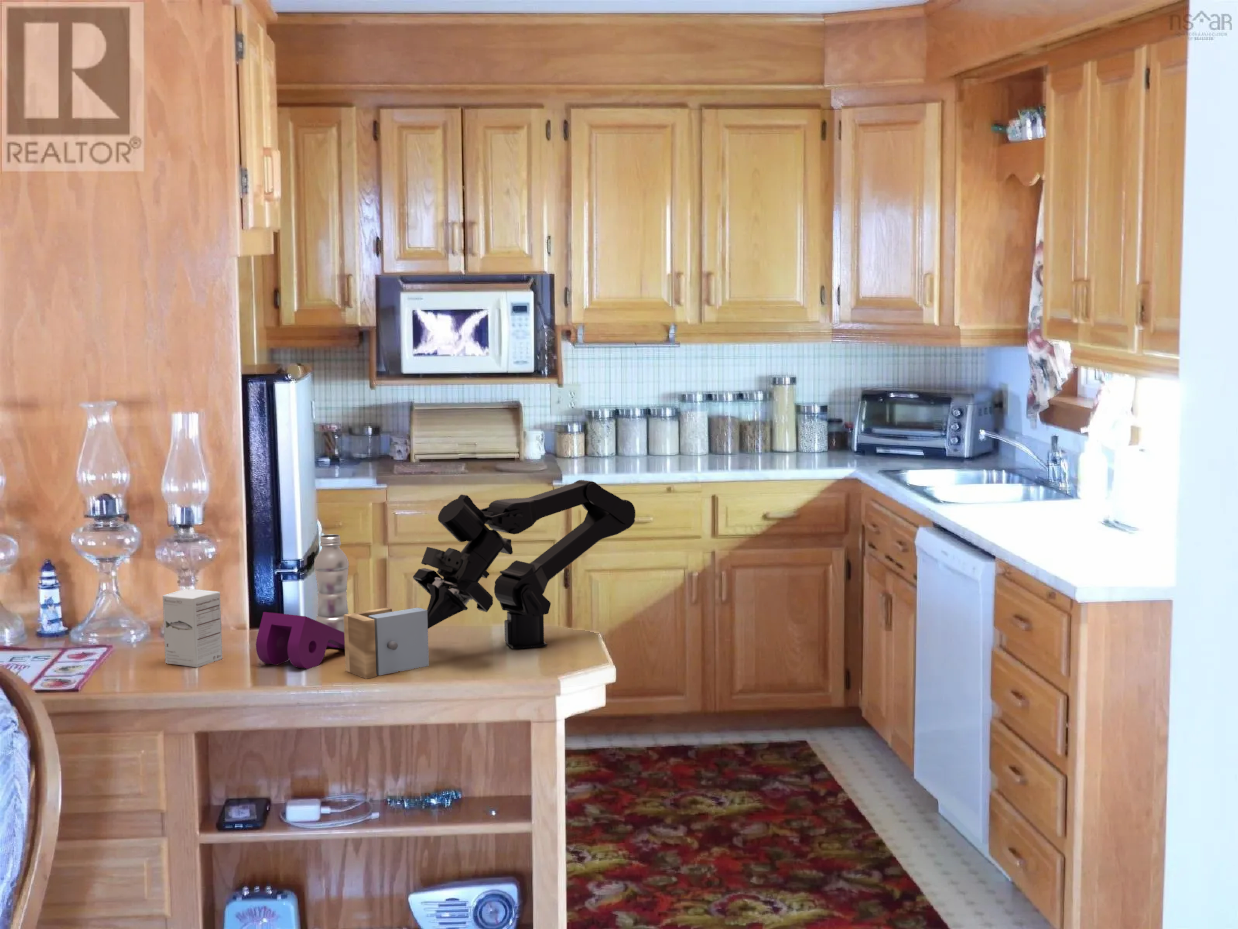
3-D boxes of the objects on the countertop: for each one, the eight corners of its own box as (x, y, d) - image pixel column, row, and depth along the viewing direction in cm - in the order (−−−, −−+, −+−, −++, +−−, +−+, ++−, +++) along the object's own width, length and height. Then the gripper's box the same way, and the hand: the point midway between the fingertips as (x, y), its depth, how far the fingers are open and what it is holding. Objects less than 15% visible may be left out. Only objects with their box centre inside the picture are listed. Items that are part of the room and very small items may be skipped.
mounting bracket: (311, 680, 276) (251, 658, 261) (322, 636, 278) (263, 611, 263) (352, 685, 272) (293, 663, 256) (363, 640, 274) (305, 616, 259)
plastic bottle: (309, 639, 282) (305, 536, 280) (340, 634, 287) (336, 532, 284) (327, 645, 277) (323, 539, 275) (358, 639, 282) (354, 535, 280)
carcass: (389, 662, 263) (387, 607, 262) (410, 670, 258) (408, 613, 257) (345, 670, 258) (343, 614, 257) (365, 678, 252) (364, 621, 251)
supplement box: (163, 664, 265) (160, 595, 263) (192, 655, 271) (189, 587, 270) (196, 668, 261) (192, 598, 260) (224, 659, 268) (221, 590, 267)
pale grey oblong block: (418, 662, 264) (416, 607, 262) (432, 667, 260) (430, 611, 259) (368, 671, 257) (366, 615, 256) (382, 676, 254) (380, 619, 253)
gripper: (420, 524, 270) (369, 591, 264) (477, 536, 256) (423, 607, 250) (458, 561, 276) (408, 628, 270) (515, 575, 261) (464, 646, 256)
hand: (424, 627), depth 261 cm, fingers closed, pressing on pale grey oblong block
